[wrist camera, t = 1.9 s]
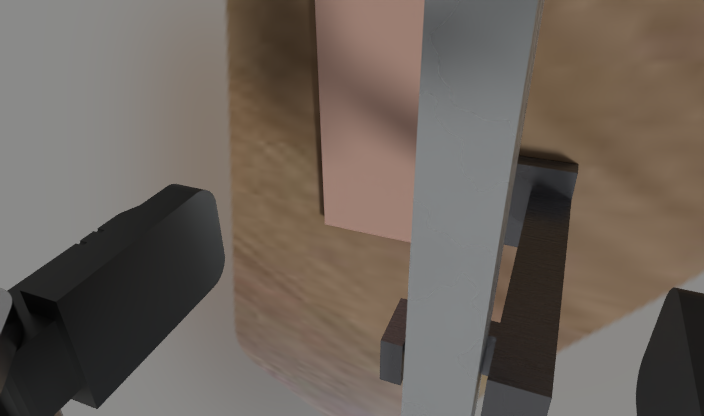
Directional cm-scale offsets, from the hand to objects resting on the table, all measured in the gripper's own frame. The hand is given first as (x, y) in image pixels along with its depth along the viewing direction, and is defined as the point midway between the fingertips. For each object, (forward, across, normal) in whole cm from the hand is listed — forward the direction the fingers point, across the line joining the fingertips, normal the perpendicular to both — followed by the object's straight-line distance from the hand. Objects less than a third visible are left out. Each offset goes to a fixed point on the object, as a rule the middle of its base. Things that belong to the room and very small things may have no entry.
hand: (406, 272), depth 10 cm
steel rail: (+7, 0, 0) cm, 7 cm away
